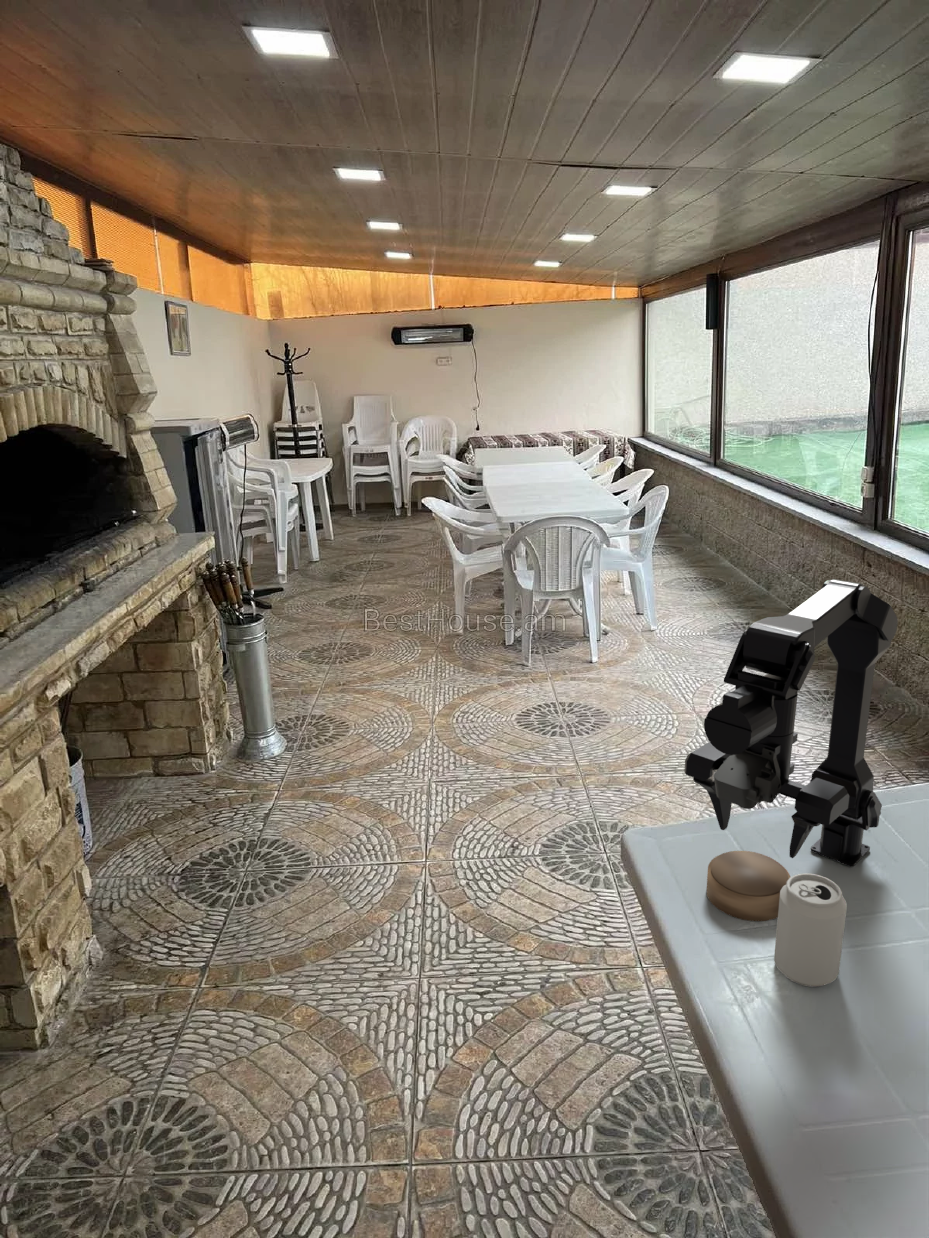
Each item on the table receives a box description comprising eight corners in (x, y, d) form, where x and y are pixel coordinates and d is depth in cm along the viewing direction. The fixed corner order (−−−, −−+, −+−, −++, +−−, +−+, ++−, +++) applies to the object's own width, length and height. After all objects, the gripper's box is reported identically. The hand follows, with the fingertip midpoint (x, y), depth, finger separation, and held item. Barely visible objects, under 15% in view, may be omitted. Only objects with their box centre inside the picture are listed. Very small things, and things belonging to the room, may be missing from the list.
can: (844, 995, 102) (854, 909, 98) (777, 987, 103) (785, 903, 100) (831, 952, 109) (841, 871, 105) (769, 946, 110) (776, 866, 107)
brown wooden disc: (731, 863, 128) (733, 840, 126) (803, 894, 120) (805, 870, 119) (691, 896, 121) (692, 872, 119) (764, 932, 113) (766, 906, 112)
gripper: (663, 724, 104) (656, 839, 108) (815, 774, 91) (800, 901, 95) (711, 699, 111) (703, 807, 116) (858, 742, 98) (842, 861, 103)
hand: (757, 842), depth 107 cm, fingers open, 9 cm apart
